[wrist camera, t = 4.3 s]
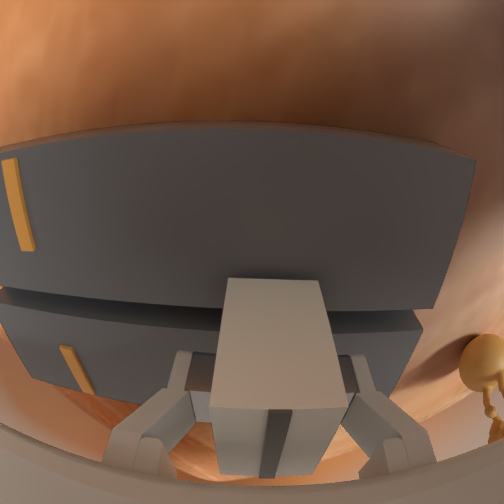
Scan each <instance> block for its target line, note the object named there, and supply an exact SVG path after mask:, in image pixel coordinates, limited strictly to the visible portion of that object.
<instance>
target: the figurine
mask: <svg viewBox="0 0 504 504" xmlns="http://www.w3.org/2000/svg"><path fill="white" fill-rule="evenodd" d="M459 373H460V377H461V379H462V381H463V383H464V384H465V385H466V386H467V387H468V388H469V389H471V390H473V391H476V392H483V404H484V407H485V414H486V416H487V417H489V418H492V419H493V423H492V425H491V429H490V432H489V435H490V436H489V440H488V444H489V443H492V442H494V441H496V440H499V439H501V438H503V437H504V422H503V421H502V420H501V419H500V417H499V416H498V414H497V413H496V410H495V407H493V406H492V405H490V402H489V401H490V393H491V391H492V390H493V389H494V388H495V387H497V386H498V387H499V390H500V391H501V393H502V396H503V398H504V340H503V339H502V338H500V337H499V336H497V335H494V334H484V335H480V336H478V337H476V338H474V339H473V340H472V341H470V342H469V343H468V345H467V346H466V347H465V349H464V350H463V352H462V355H461V357H460V362H459Z"/></svg>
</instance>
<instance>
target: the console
mask: <svg viewBox="0 0 504 504" xmlns="http://www.w3.org/2000/svg"><path fill="white" fill-rule="evenodd" d="M475 164H476V160H475V159H473V158H470V157H468V156H466V155H463V154H461V153H459V152H456V151H454V150H451V149H449V148H446V147H444V146H441V145H439V144H436V143H431V142H427V141H422V140H417V139H412V138H407V137H401V136H396V135H390V134H384V133H378V132H371V131H364V130H357V129H349V128H341V127H332V126H322V125H311V124H298V123H283V122H262V121H185V122H165V123H150V124H137V125H126V126H117V127H108V128H100V129H92V130H85V131H78V132H72V133H66V134H60V135H55V136H49V137H44V138H39V139H34V140H29V141H25V142H20V143H16V144H12V145H8V146H4V147H0V286H4V287H3V288H2V289H1V290H0V322H1V324H2V326H3V328H4V330H5V332H6V334H7V336H8V338H9V339H10V341H11V343H12V345H13V347H14V349H15V350H16V352H17V354H18V356H19V357H20V359H21V361H22V362H23V364H24V366H25V367H26V369H27V370H28V372H29V374H30V375H31V377H32V378H35V379H38V380H41V381H44V382H47V383H51V384H54V385H58V386H61V387H65V388H68V389H72V390H76V391H80V392H83V393H87V394H91V395H96V396H101V397H105V398H110V399H115V400H120V401H125V402H130V403H136V404H141V405H142V404H144V403H145V402H146V401H147V400H149V399H150V398H151V397H152V396H153V395H155V394H156V393H157V392H158V391H160V390H161V389H162V388H166V389H167V386H168V382H169V378H170V375H171V371H172V367H173V364H174V360H175V356H176V353H177V352H178V350H184V351H196V352H206V353H216V354H217V347H218V341H219V334H220V327H221V321H222V314H223V308H224V301H225V295H226V289H227V282H228V278H250V279H281V280H318V282H319V286H320V289H321V293H322V297H323V301H324V304H325V308H326V312H327V316H328V320H329V324H330V328H331V332H332V336H333V340H334V344H335V348H336V352H337V355H352V354H364V356H365V357H366V361H367V364H368V367H369V370H370V373H371V376H372V380H373V383H374V386H375V389H376V391H381V392H382V393H383V394H384V395H385V396H387V397H388V398H389V396H390V394H391V392H392V391H393V389H394V387H395V385H396V384H397V382H398V380H399V378H400V376H401V374H402V373H403V371H404V369H405V367H406V365H407V363H408V361H409V359H410V357H411V355H412V353H413V351H414V349H415V347H416V345H417V343H418V341H419V339H420V336H421V334H422V332H423V328H422V326H421V324H420V322H419V320H418V319H417V317H416V315H415V313H414V312H413V310H414V309H433V307H434V304H435V302H436V299H437V297H438V294H439V292H440V289H441V286H442V284H443V281H444V278H445V276H446V273H447V270H448V267H449V264H450V261H451V258H452V255H453V252H454V249H455V246H456V242H457V239H458V236H459V232H460V229H461V225H462V222H463V218H464V214H465V210H466V206H467V202H468V198H469V194H470V189H471V185H472V180H473V175H474V170H475Z"/></svg>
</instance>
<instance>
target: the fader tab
mask: <svg viewBox="0 0 504 504" xmlns="http://www.w3.org/2000/svg"><path fill="white" fill-rule="evenodd" d="M348 407H349V406H348V401H347V396H346V392H345V387H344V383H343V378H342V374H341V369H340V365H339V361H338V357H337V352H336V348H335V344H334V340H333V336H332V332H331V328H330V324H329V320H328V316H327V312H326V308H325V304H324V301H323V297H322V293H321V289H320V286H319V282H318V280H281V279H250V278H228V282H227V289H226V295H225V301H224V308H223V314H222V321H221V327H220V334H219V341H218V347H217V354H216V361H215V368H214V375H213V382H212V389H211V396H210V403H209V410H210V416H211V423H212V429H213V435H214V441H215V447H216V453H217V459H218V464H219V470H220V474H227V475H247V476H259V478H275V476H292V475H311V474H313V472H314V471H315V469H316V467H317V465H318V464H319V462H320V460H321V458H322V457H323V455H324V453H325V451H326V450H327V448H328V446H329V444H330V442H331V440H332V439H333V437H334V435H335V433H336V431H337V429H338V427H339V425H340V423H341V421H342V419H343V417H344V415H345V413H346V411H347V409H348Z"/></svg>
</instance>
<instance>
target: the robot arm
mask: <svg viewBox="0 0 504 504" xmlns="http://www.w3.org/2000/svg"><path fill="white" fill-rule="evenodd" d="M337 357H338V361H339V365H340V369H341V374H342V378H343V383H344V387H345V392H346V396H347V401H348V406H349V407H348V409H347V411H346V413H345V415H344V417H343V419H342V421H341V425H342V426H343V427H344V429H345V430H346V431H347V432H348V433H349V434H350V436H351V437H352V438H353V439H354V440H355V442H356V443H357V444H358V445H359V446H360V447H361V449H362V450H363V451H364V452H365V453H366V454H367V456H368V457H369V458H370V459H369V461H368V462H367V463H366V464H365V465H364V466H363V467H362V468H361V470H360V471H359V478H360V479H359V480H351V481H344V482H336V483H326V484H313V485H299V486H298V485H296V486H241V485H224V484H212V483H202V482H194V481H185V480H179V479H176V474H177V471H176V469H175V467H174V465H173V463H172V461H171V459H170V457H169V455H168V453H169V452H170V451H171V450H172V449H173V448H174V447H175V446H176V445H177V444H178V443H179V441H180V440H181V439H182V438H183V437H184V436H185V435H186V434H187V433H188V431H189V430H190V429H191V428H192V427H193V426H194V425H195V424H196V422H209V423H211V416H210V410H209V403H210V396H211V389H212V382H213V375H214V368H215V361H216V353H206V352H196V351H184V350H178V352H177V353H176V356H175V360H174V364H173V367H172V371H171V375H170V378H169V382H168V386H167V389H166V388H162V389H161V390H160V391H158V392H157V393H156V394H155V395H153V396H152V397H151V398H150V399H149V400H147V401H146V402H145V403H144V404H142V405H141V406H140V407H139V408H138V409H136V410H135V411H134V412H133V413H131V414H130V415H129V416H128V417H126V418H125V419H124V420H123V421H121V422H120V423H119V424H117V425H116V426H115V427H114V428H113V429H112V432H111V435H110V438H109V441H108V444H107V447H106V450H105V453H104V456H103V459H102V462H101V463H100V462H97V461H93V460H91V459H87V458H84V457H81V456H78V455H75V454H72V453H69V452H66V451H64V450H61V449H58V448H56V447H53V446H51V445H48V444H46V443H43V442H41V441H38V440H36V439H34V438H31V437H29V436H27V435H25V434H22V433H20V432H18V431H16V430H14V429H12V428H10V427H8V426H6V425H4V424H2V423H0V504H504V437H503V438H501V439H499V440H496V441H494V442H492V443H489V444H487V445H484V446H482V447H479V448H477V449H474V450H472V451H469V452H466V453H464V454H461V455H458V456H455V457H452V458H449V459H446V460H442V461H439V462H437V461H436V458H435V455H434V451H433V448H432V445H431V442H430V439H429V436H428V433H427V431H426V429H425V428H423V427H422V426H421V425H420V424H419V423H417V422H416V421H415V420H414V419H413V418H411V417H410V416H409V415H408V414H407V413H405V412H404V411H403V410H402V409H401V408H400V407H398V406H397V405H396V404H395V403H394V402H392V401H391V400H390V399H389V398H388V397H387V396H385V395H384V394H383V393H382V392H381V391H376V389H375V386H374V383H373V380H372V376H371V373H370V370H369V367H368V364H367V361H366V357H365V356H364V354H352V355H337Z"/></svg>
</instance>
